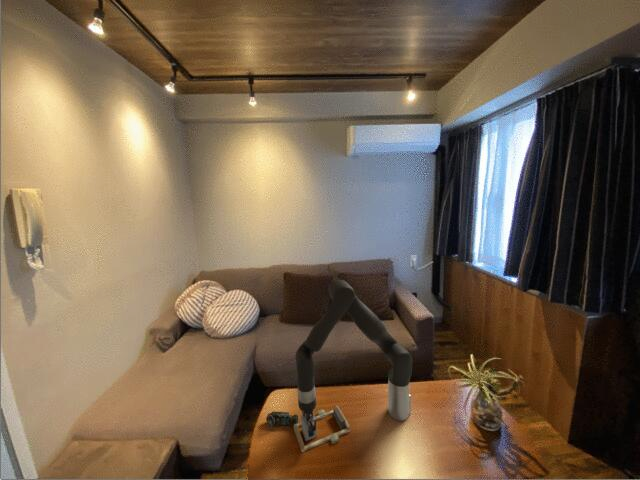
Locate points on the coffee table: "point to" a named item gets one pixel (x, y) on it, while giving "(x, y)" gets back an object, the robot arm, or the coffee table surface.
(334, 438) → the beam frame
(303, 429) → the grey rectangular block
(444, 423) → the coffee table surface
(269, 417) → the stun grenade
